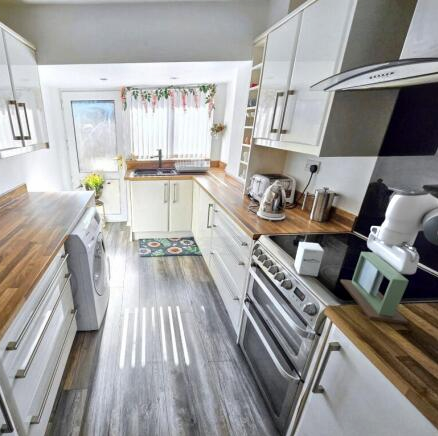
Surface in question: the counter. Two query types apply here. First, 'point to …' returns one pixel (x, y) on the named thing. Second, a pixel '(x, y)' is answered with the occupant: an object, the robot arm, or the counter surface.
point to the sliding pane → (377, 283)
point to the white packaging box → (308, 258)
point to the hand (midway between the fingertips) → (383, 270)
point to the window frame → (379, 304)
